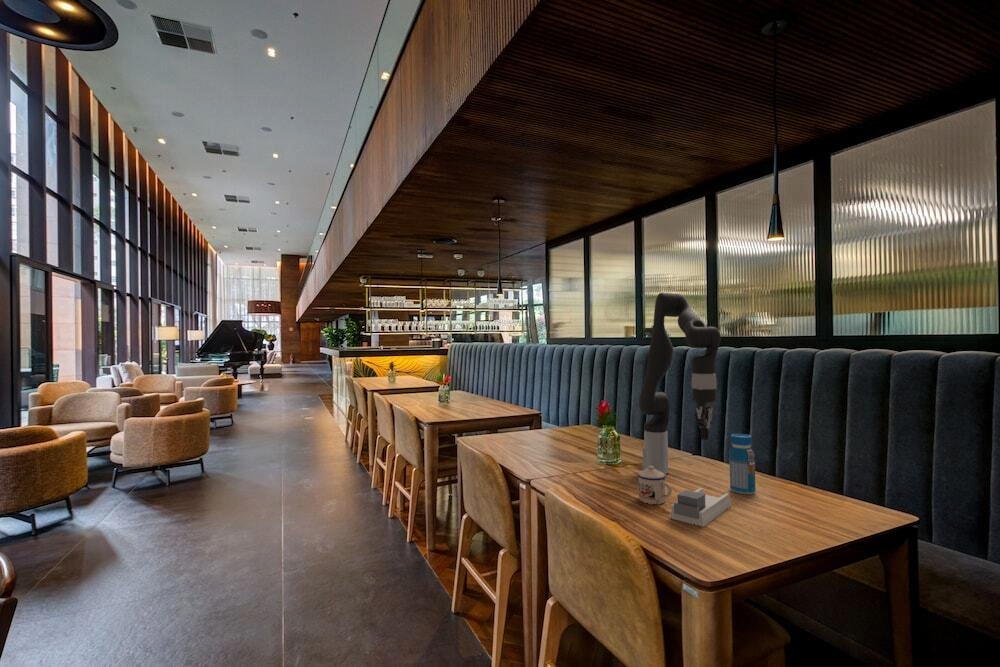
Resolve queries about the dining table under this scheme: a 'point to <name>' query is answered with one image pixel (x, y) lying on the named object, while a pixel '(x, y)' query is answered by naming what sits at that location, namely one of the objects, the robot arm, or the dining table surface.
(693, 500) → the slider block
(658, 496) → the teacup with lid
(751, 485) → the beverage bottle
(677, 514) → the slide rail
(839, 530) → the dining table surface
